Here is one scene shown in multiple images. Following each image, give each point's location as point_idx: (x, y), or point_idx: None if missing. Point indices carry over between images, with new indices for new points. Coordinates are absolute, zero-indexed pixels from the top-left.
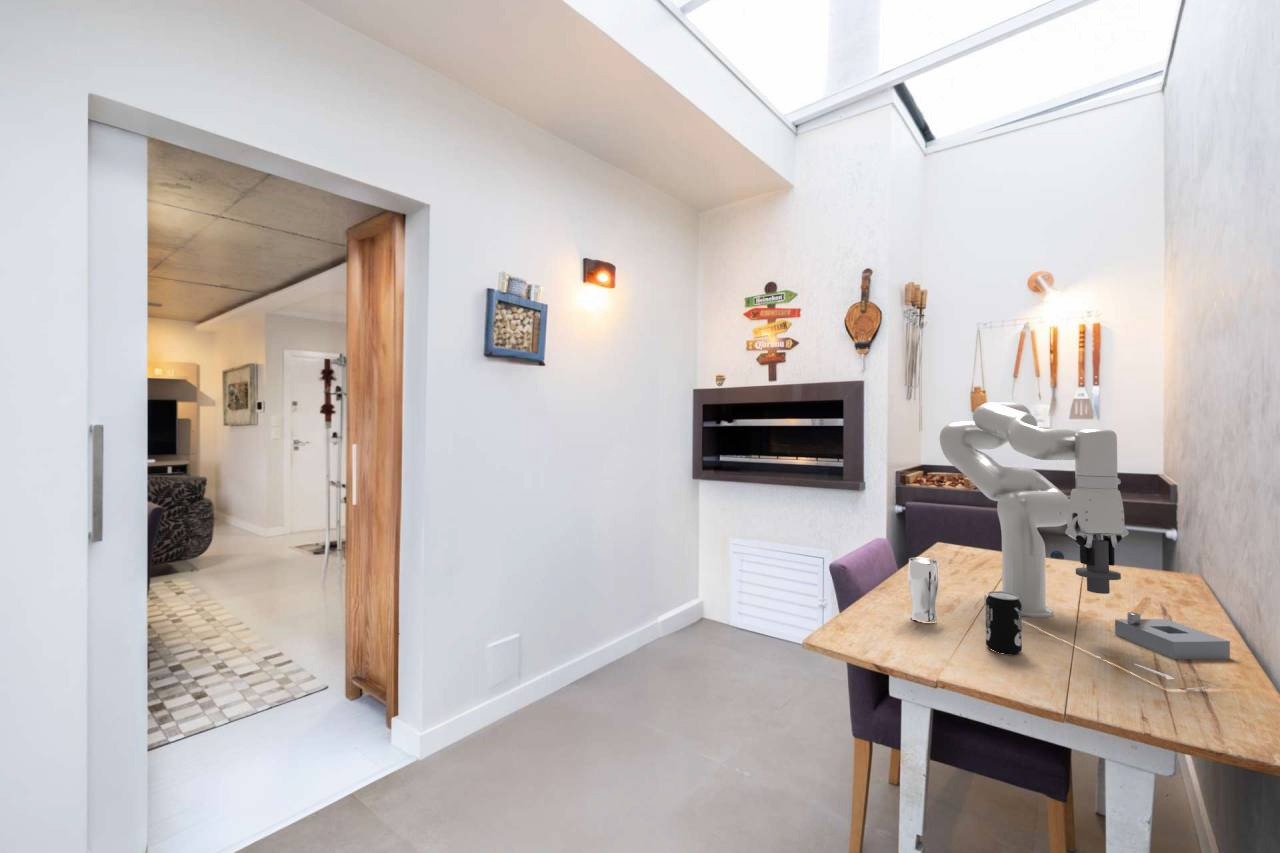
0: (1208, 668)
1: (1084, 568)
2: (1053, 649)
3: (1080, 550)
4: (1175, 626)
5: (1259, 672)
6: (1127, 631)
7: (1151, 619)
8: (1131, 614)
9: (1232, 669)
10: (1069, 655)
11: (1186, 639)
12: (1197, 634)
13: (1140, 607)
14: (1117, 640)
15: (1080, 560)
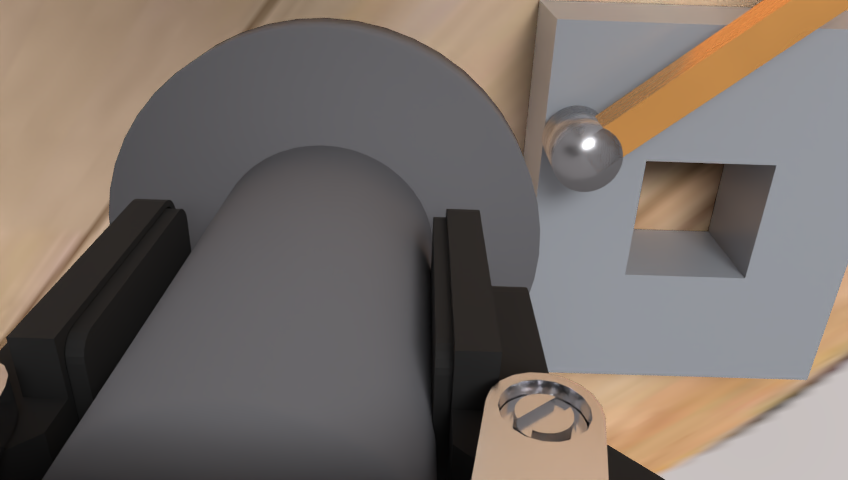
0: (576, 380)
1: (292, 79)
2: (40, 156)
3: (7, 356)
4: (803, 175)
5: (732, 419)
6: (538, 104)
7: (813, 38)
8: (556, 170)
9: (662, 392)
10: (77, 230)
11: (618, 350)
12: (764, 295)
13: (805, 20)
14: (498, 55)
15: (129, 208)
